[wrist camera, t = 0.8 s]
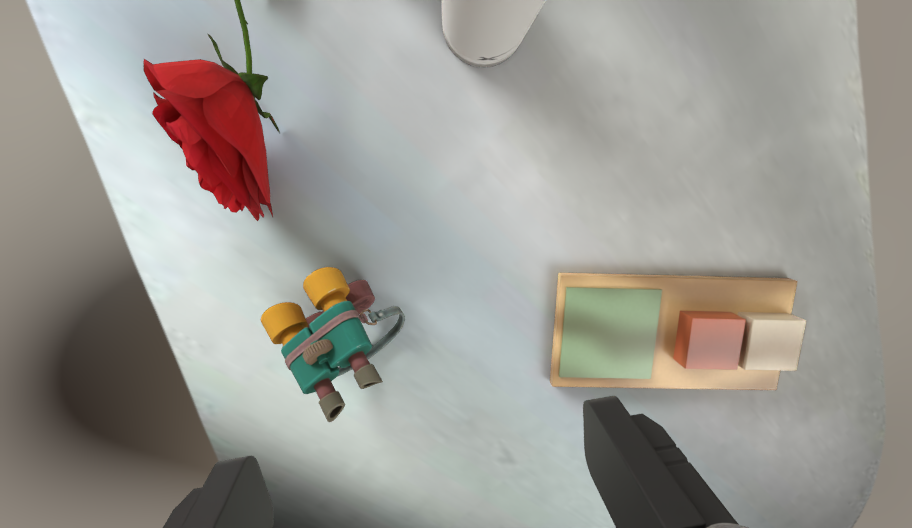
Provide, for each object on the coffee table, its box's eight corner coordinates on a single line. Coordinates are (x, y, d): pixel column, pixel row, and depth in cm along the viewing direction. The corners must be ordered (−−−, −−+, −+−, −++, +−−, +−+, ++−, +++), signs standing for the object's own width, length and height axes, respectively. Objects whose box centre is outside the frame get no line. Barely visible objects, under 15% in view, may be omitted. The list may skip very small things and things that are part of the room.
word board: (558, 272, 38) (567, 281, 35) (789, 278, 38) (817, 286, 35) (549, 381, 40) (557, 398, 37) (768, 385, 40) (794, 402, 37)
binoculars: (394, 278, 40) (328, 247, 30) (448, 364, 36) (393, 358, 27) (316, 341, 41) (230, 330, 31) (362, 430, 37) (280, 447, 28)
